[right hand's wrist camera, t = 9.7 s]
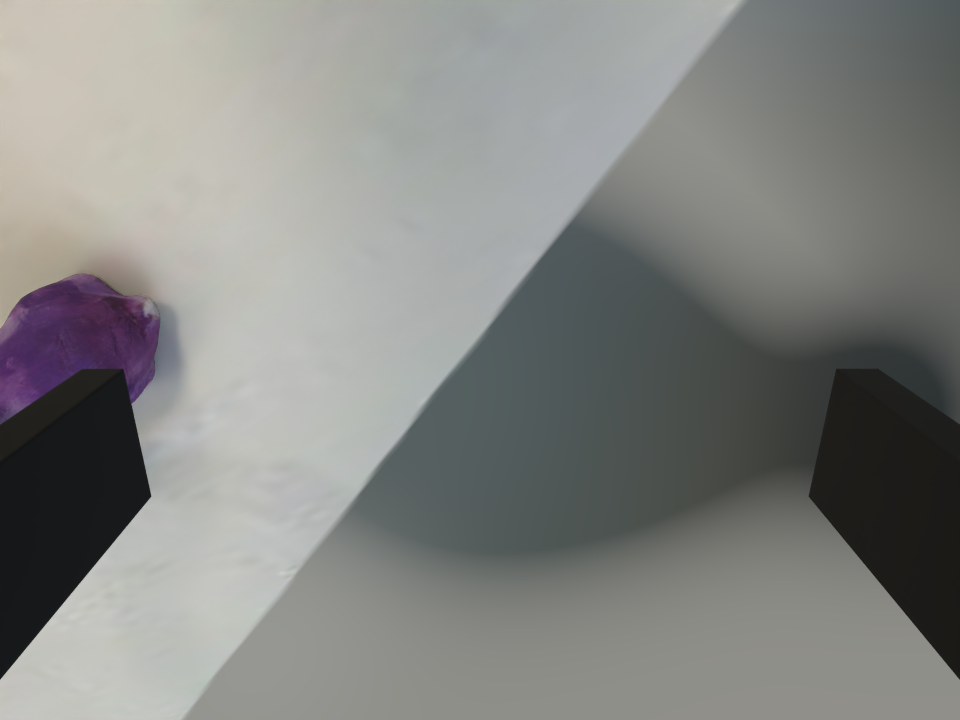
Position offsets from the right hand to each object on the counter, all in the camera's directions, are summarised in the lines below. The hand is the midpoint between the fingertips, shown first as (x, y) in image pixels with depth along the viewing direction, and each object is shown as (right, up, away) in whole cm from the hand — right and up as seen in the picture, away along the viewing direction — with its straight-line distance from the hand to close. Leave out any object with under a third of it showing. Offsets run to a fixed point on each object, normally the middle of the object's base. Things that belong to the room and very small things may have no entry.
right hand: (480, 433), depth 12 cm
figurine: (-24, +2, +29) cm, 38 cm away
